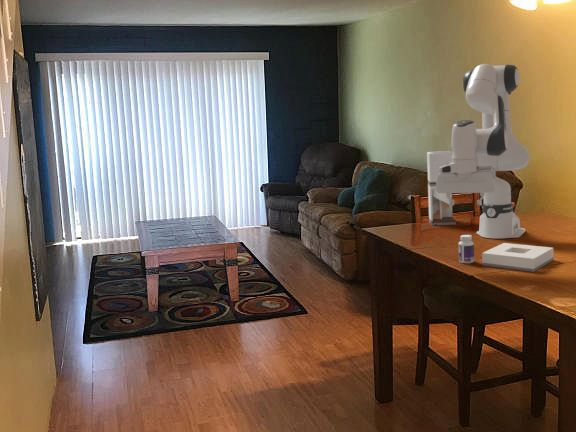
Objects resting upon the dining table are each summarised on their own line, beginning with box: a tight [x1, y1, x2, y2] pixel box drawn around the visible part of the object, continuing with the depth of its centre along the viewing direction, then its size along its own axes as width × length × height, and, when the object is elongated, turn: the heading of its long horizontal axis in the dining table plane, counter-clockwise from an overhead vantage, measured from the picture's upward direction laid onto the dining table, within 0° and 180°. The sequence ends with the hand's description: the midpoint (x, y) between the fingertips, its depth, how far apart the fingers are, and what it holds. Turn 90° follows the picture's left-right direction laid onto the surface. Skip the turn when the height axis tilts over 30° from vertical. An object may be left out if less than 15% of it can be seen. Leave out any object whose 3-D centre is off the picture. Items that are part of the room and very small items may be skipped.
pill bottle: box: [458, 234, 475, 264], centre depth 212 cm, size 5×5×10 cm
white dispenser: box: [426, 150, 457, 226], centre depth 285 cm, size 11×11×35 cm
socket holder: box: [481, 242, 554, 273], centre depth 206 cm, size 18×18×4 cm
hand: (465, 205), depth 209 cm, fingers open, 8 cm apart
